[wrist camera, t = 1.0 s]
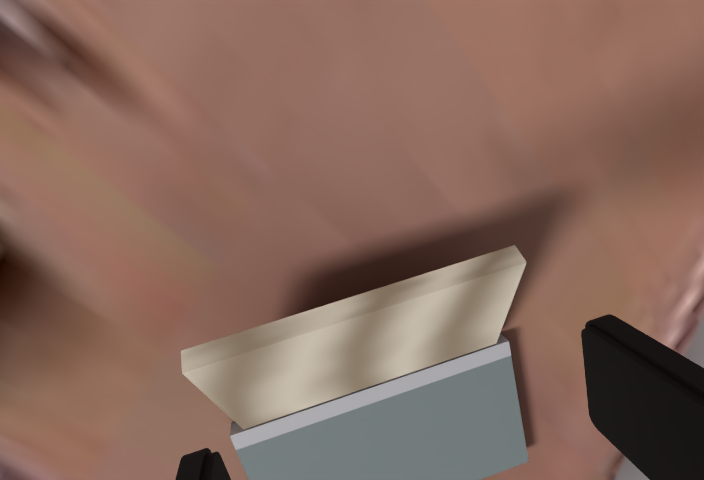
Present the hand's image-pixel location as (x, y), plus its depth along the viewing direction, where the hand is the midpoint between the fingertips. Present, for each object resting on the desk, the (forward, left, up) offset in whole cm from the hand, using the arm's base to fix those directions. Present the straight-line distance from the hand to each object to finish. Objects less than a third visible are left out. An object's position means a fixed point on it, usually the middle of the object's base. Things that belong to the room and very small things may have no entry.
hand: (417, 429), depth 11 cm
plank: (0, +6, -15) cm, 16 cm away
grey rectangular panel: (0, +16, -18) cm, 25 cm away
